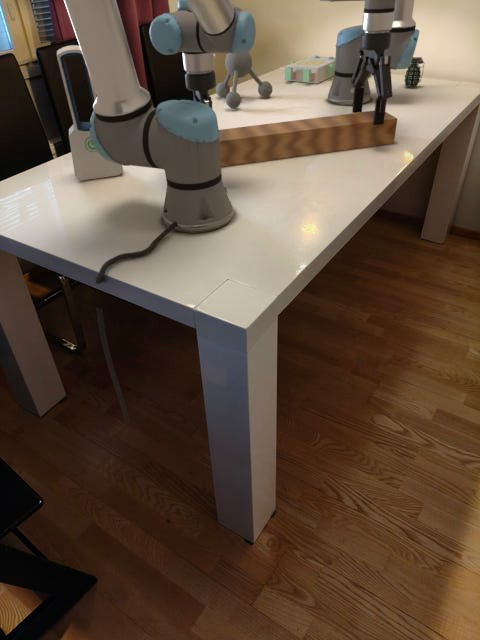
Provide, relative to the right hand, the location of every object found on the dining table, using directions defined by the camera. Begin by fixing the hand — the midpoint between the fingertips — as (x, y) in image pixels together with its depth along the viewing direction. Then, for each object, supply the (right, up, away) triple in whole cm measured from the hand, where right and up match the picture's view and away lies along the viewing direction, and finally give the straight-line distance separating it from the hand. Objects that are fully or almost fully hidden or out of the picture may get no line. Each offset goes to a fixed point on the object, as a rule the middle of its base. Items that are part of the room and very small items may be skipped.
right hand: (367, 118), depth 138 cm
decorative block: (-5, +47, +71) cm, 85 cm away
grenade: (+30, +33, +50) cm, 67 cm away
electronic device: (-74, -18, -6) cm, 76 cm away
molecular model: (-34, +26, +46) cm, 63 cm away
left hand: (-45, -13, -3) cm, 47 cm away
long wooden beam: (-22, -9, +1) cm, 24 cm away
